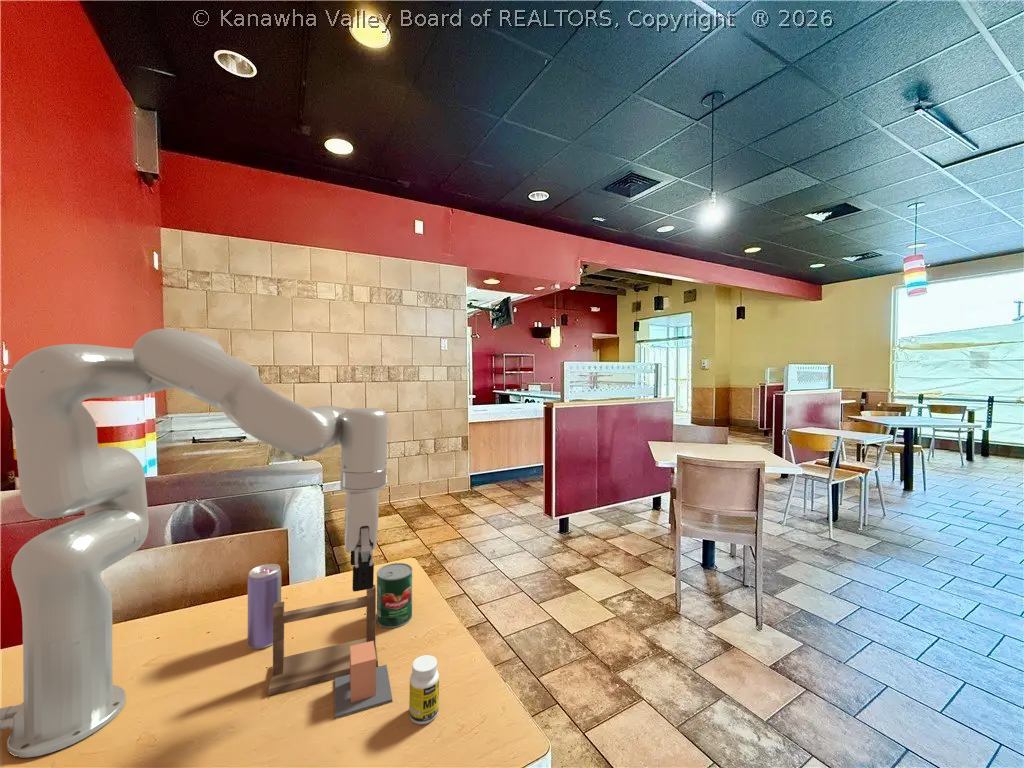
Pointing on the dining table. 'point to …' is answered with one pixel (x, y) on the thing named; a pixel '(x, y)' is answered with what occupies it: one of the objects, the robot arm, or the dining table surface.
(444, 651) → the dining table surface
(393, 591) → the canned tomato
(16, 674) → the dining table surface
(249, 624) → the beverage can
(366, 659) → the c link
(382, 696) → the mat
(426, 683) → the supplement bottle
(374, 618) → the stand
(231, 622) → the dining table surface
